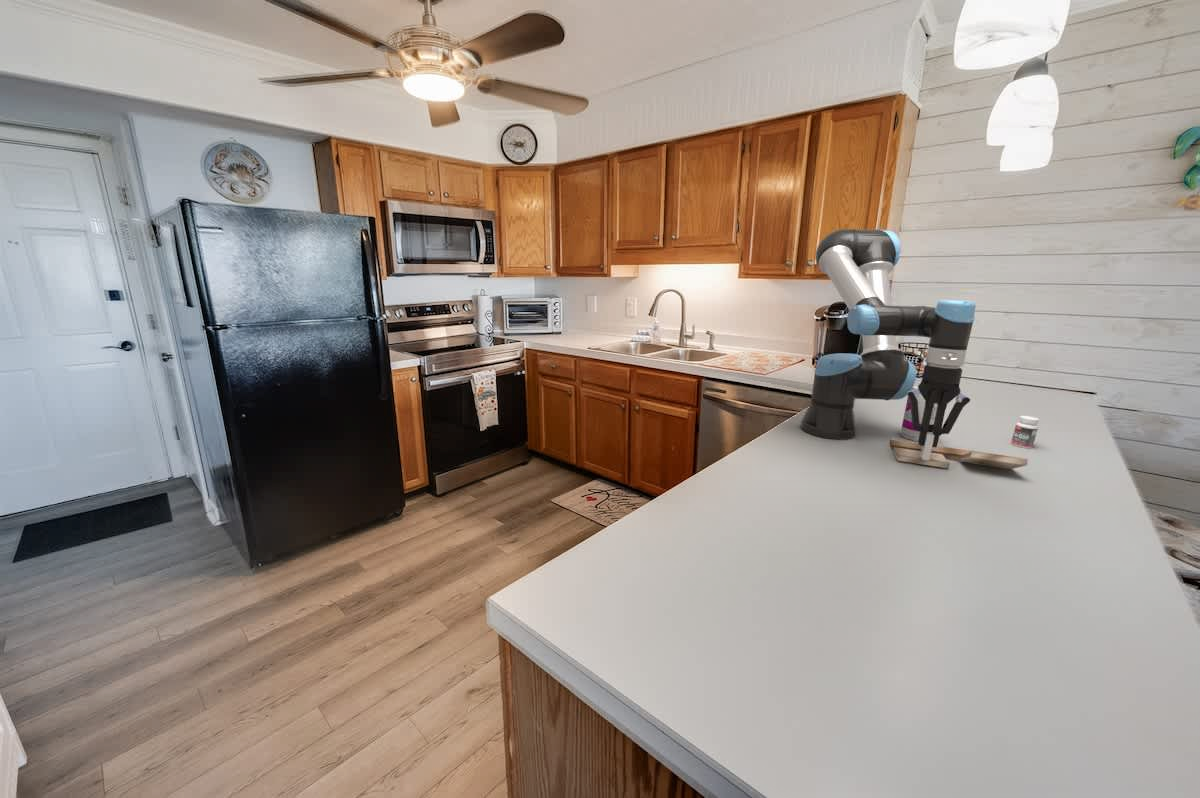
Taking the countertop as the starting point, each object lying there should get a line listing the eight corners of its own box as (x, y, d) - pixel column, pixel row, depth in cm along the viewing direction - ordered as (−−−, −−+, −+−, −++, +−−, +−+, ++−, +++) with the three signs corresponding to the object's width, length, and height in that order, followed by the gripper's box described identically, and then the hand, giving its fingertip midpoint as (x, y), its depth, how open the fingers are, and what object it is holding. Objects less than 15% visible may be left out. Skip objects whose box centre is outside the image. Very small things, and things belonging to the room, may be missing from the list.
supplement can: (904, 440, 139) (915, 390, 135) (896, 431, 146) (906, 384, 142) (937, 444, 136) (948, 393, 132) (927, 435, 144) (937, 386, 140)
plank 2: (970, 456, 117) (971, 450, 117) (959, 461, 124) (960, 455, 124) (1027, 465, 112) (1027, 458, 113) (1012, 468, 120) (1012, 463, 120)
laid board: (892, 450, 130) (893, 445, 130) (889, 443, 136) (890, 438, 135) (1011, 468, 121) (1012, 462, 120) (1002, 460, 126) (1004, 454, 125)
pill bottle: (1007, 443, 138) (1014, 416, 136) (1016, 441, 140) (1023, 414, 138) (1026, 449, 134) (1034, 421, 132) (1035, 447, 136) (1043, 419, 134)
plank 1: (897, 460, 122) (898, 455, 122) (893, 451, 130) (894, 446, 129) (948, 468, 118) (950, 462, 118) (941, 458, 125) (942, 453, 125)
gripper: (914, 365, 114) (896, 458, 119) (981, 370, 109) (959, 467, 114) (909, 361, 121) (892, 449, 126) (972, 366, 115) (951, 458, 121)
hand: (924, 458), depth 120 cm, fingers closed
